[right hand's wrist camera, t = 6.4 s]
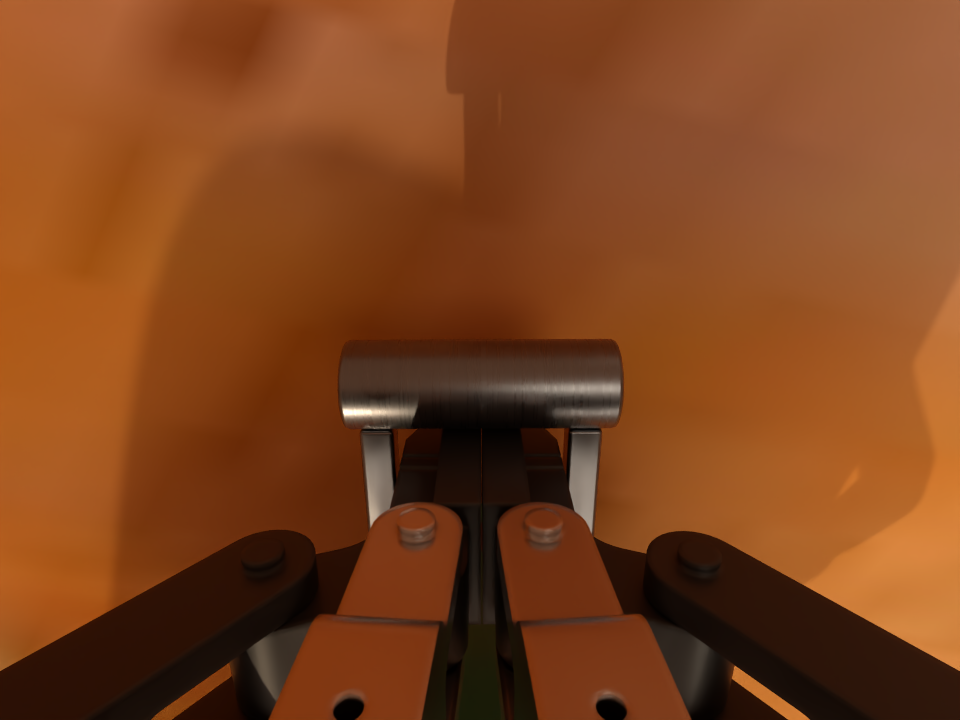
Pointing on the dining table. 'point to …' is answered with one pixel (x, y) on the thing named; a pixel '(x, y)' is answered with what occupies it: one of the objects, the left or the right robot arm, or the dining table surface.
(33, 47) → the dining table surface
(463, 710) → the drawer
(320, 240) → the dining table surface
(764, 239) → the dining table surface
